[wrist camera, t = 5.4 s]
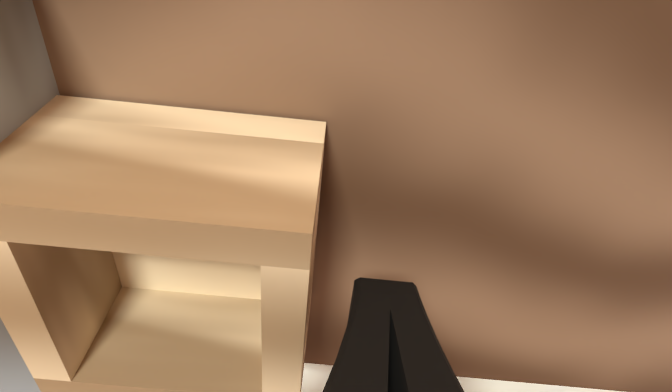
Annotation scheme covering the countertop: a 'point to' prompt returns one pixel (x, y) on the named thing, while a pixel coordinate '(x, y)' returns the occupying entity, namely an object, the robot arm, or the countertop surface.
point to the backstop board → (425, 156)
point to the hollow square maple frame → (159, 246)
